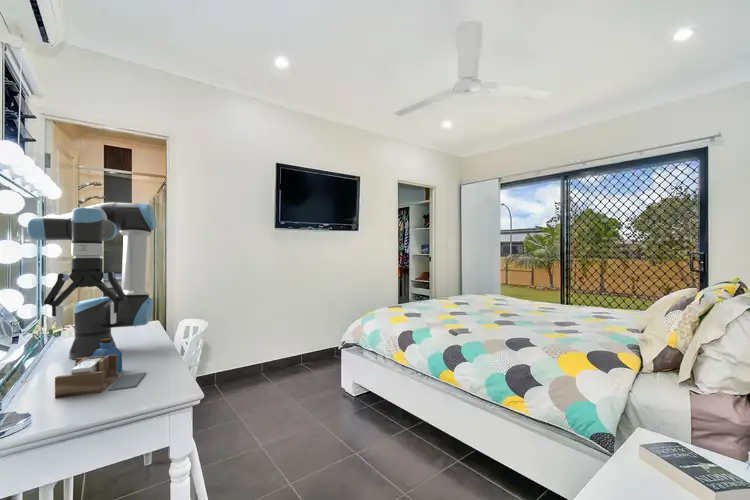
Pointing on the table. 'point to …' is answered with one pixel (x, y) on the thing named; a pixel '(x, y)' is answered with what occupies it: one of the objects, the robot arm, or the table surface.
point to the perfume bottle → (109, 351)
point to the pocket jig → (88, 378)
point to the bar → (87, 366)
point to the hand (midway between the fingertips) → (87, 325)
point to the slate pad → (127, 381)
